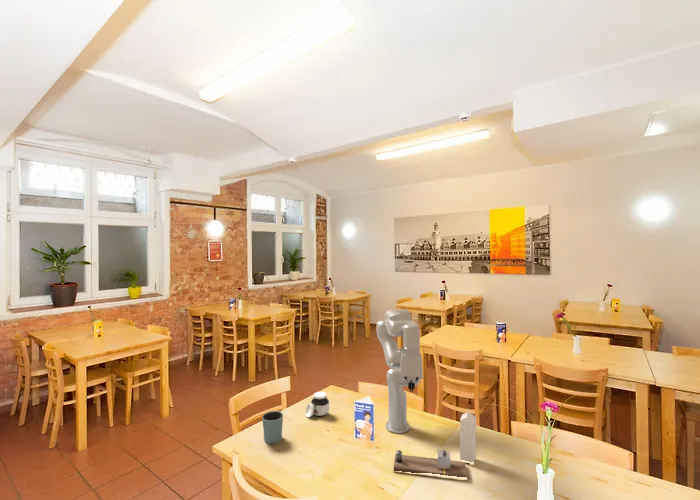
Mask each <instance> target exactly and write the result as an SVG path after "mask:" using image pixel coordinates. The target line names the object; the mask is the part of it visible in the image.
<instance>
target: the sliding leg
mask: <svg viewBox="0 0 700 500" xmlns="http://www.w3.org/2000/svg"><path fill="white" fill-rule="evenodd" d="M437 459H438V469H447V470H450V460H451V453H450V451H449V450H444V449H443V450H439V449H438V450H437Z"/></svg>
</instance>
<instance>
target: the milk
mask: <svg viewBox="0 0 700 500" xmlns="http://www.w3.org/2000/svg"><path fill="white" fill-rule="evenodd" d="M459 424H460V425H459V460H460V459H461V460H465V461H469V462H474V461H475V462H476V460H475V457H476V455H477V454H476V453H477V445H476V443H477V438H476V437H477V436H476V435H477V434H476V433H477V431H476V429H477V418H476V416H475V415H474V414H473V413H471V412H470V409H468V410H467V412H465V413H462V414H461V416H460V422H459ZM476 458H477V457H476Z"/></svg>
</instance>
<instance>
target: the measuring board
mask: <svg viewBox="0 0 700 500" xmlns="http://www.w3.org/2000/svg"><path fill="white" fill-rule="evenodd" d="M394 471H402V472H411V473H432V474H440V475H446V476H447V475H448V476H457V477H467V478H468V474H467V472H468V471H467V467H466V464H465V462H461V461H460V460H451V459H450V470H447V469H438V458H432V457H424V456H418V455H417V456H416V455H405V454H402V462H400V463H399V462H397V461H396V453H395V454H394V461H393V472H394Z"/></svg>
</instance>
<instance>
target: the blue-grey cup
mask: <svg viewBox="0 0 700 500" xmlns="http://www.w3.org/2000/svg"><path fill="white" fill-rule="evenodd" d="M261 418H262V419H261V420H262V427H263V428H262V429H263V439H264V442H265V444H269V445H274V444H278V443H280V442H281V441H282V438H283V434H282V433H283V420H284V414H283V412H282V411H279V410H272V411H268V412H265V413H263V415H262V417H261Z"/></svg>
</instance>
